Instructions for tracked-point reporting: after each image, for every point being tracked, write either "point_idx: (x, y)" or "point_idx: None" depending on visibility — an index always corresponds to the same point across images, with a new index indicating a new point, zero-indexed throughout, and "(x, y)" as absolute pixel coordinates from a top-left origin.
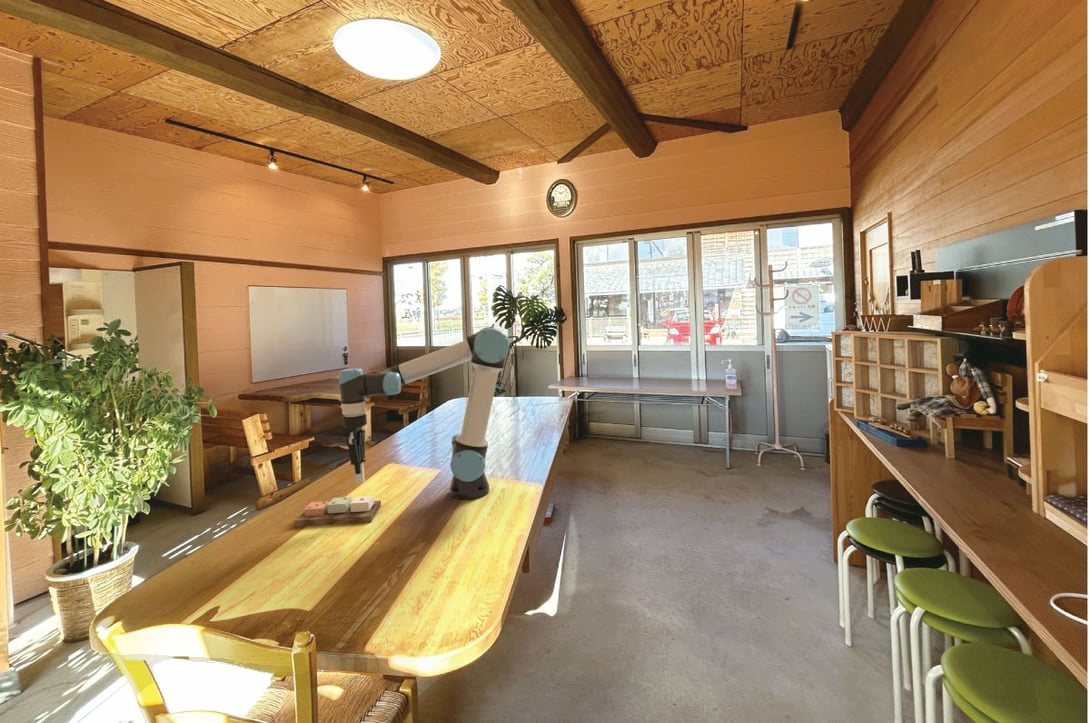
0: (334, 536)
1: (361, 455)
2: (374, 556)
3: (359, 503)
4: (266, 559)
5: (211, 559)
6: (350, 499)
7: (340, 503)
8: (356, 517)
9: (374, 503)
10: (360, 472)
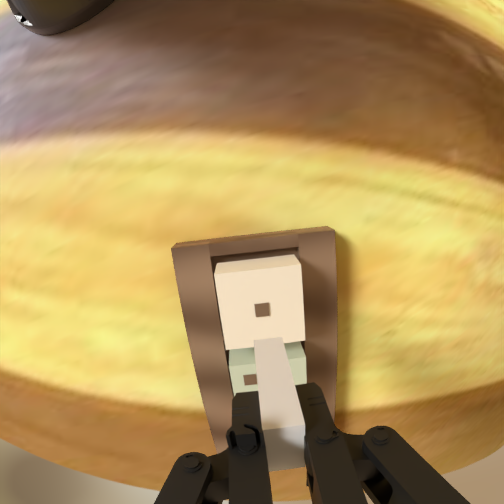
0: (406, 305)
1: (269, 491)
2: (500, 149)
3: (302, 302)
4: (464, 385)
5: (427, 461)
6: (240, 361)
7: (300, 376)
8: (336, 283)
9: (203, 264)
10: (297, 387)
